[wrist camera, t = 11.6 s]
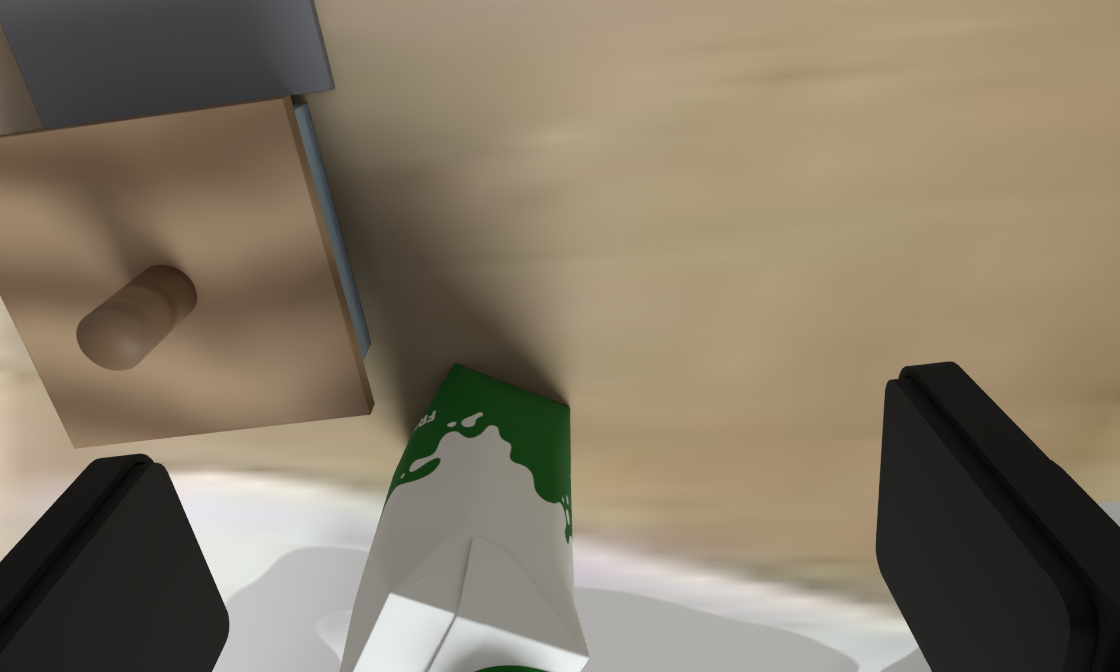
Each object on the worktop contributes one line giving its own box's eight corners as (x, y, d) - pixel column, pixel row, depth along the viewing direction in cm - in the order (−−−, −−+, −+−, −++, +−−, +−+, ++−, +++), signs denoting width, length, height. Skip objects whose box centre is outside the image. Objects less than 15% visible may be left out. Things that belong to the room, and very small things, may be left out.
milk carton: (531, 511, 48) (516, 843, 30) (391, 462, 47) (287, 782, 29) (591, 399, 45) (615, 700, 27) (442, 341, 43) (361, 620, 25)
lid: (-55, 142, 33) (-173, 179, 28) (290, 94, 32) (236, 123, 27) (85, 437, 40) (11, 513, 34) (374, 403, 39) (345, 476, 34)
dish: (46, 138, 38) (-22, 163, 34) (307, 103, 37) (272, 123, 33) (143, 371, 44) (96, 419, 39) (370, 343, 43) (349, 389, 39)
